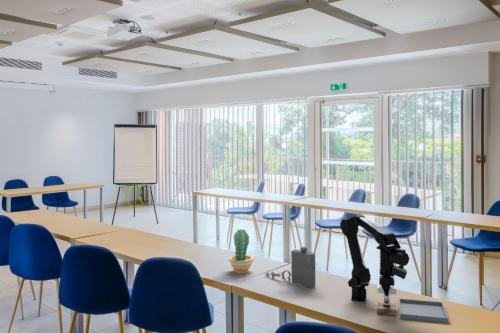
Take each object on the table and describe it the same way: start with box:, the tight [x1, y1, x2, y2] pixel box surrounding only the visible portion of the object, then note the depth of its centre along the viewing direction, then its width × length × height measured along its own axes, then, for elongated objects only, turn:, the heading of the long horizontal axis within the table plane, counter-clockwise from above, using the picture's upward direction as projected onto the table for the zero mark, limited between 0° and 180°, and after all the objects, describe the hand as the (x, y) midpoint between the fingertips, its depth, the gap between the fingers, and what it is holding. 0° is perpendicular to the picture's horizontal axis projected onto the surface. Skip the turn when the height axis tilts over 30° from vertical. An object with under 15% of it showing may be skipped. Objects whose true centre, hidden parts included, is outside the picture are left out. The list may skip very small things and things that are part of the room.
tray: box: [397, 297, 449, 324], centre depth 193 cm, size 19×19×2 cm
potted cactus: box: [228, 228, 255, 274], centre depth 259 cm, size 16×15×25 cm
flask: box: [290, 246, 316, 289], centre depth 233 cm, size 15×6×20 cm, turn 44°
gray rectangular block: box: [376, 285, 397, 304], centre depth 194 cm, size 8×2×7 cm, turn 73°
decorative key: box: [264, 269, 292, 284], centre depth 243 cm, size 7×1×20 cm
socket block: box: [376, 301, 397, 316], centre depth 194 cm, size 8×8×2 cm
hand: (386, 294), depth 194 cm, fingers closed on gray rectangular block, 2 cm apart
